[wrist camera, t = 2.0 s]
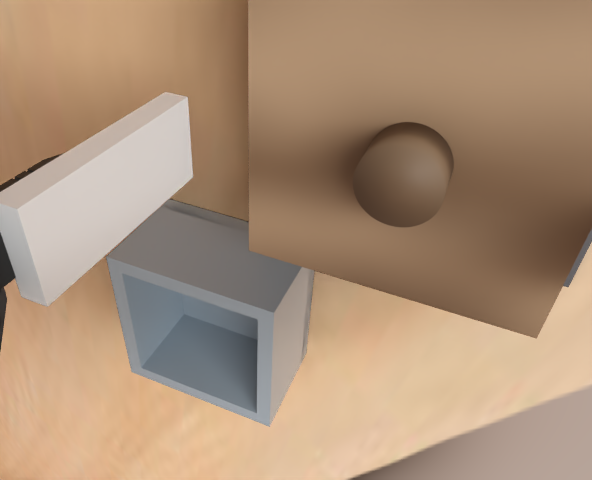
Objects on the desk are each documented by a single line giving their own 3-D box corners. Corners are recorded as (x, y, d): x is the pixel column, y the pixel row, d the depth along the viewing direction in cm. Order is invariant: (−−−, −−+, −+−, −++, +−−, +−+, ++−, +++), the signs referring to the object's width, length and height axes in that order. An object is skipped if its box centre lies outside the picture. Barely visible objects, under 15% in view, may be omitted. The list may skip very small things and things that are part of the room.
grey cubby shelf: (169, 199, 27) (106, 256, 23) (317, 241, 25) (274, 312, 21) (181, 309, 32) (131, 371, 28) (306, 353, 30) (269, 426, 26)
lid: (317, -85, 17) (218, -53, 12) (669, -43, 14) (723, 18, 9) (299, 184, 23) (229, 275, 18) (541, 247, 20) (534, 374, 16)
